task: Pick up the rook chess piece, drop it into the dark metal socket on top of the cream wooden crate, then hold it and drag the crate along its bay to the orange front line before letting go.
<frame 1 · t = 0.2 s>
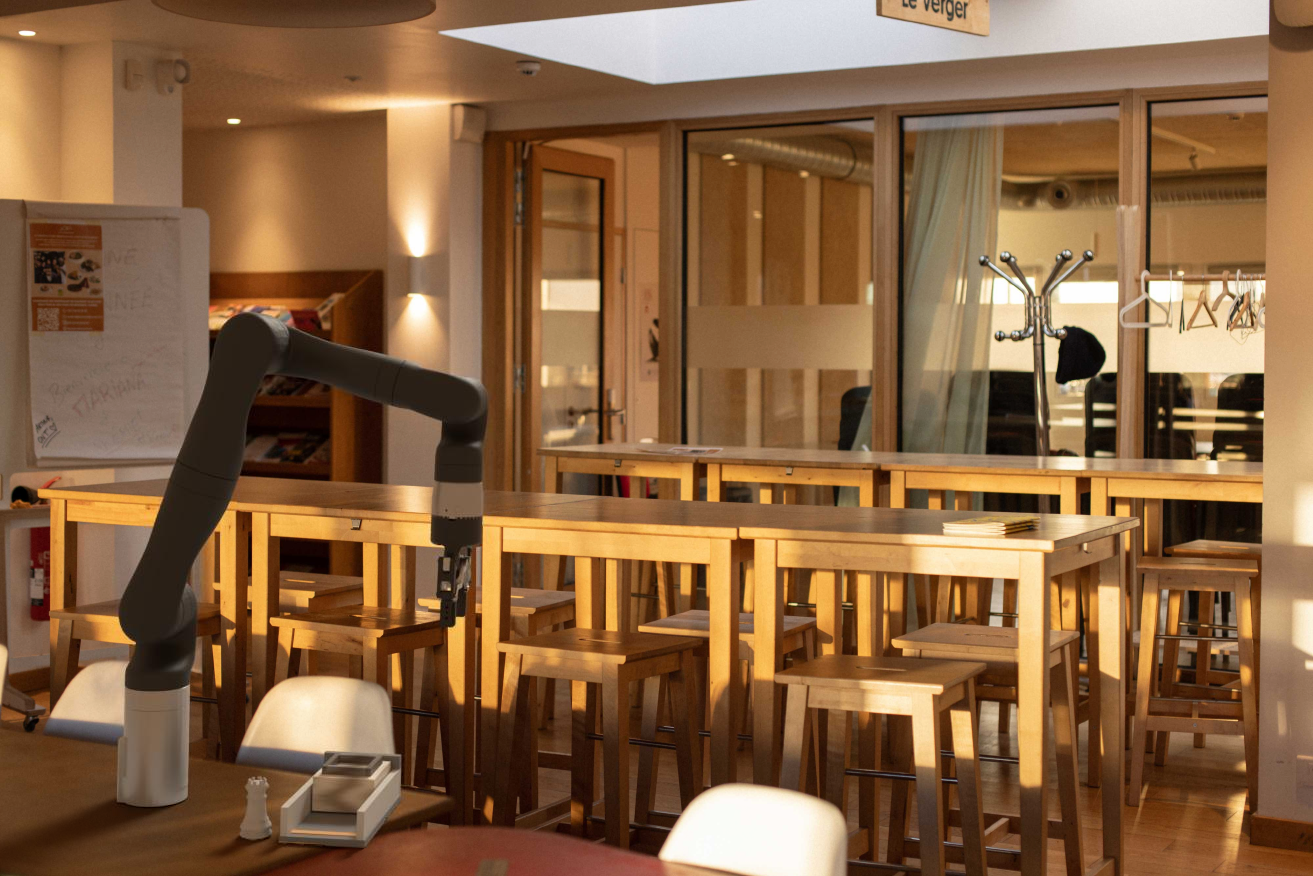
hand: (453, 621, 211), 29 cm above the table, tool pointing down, fingers open, 8 cm apart
crate bay: (343, 820, 208), on the table
rook chess piece: (255, 837, 200), on the table
crate: (352, 781, 212), point 4 cm above the table, slide at 0.0 cm
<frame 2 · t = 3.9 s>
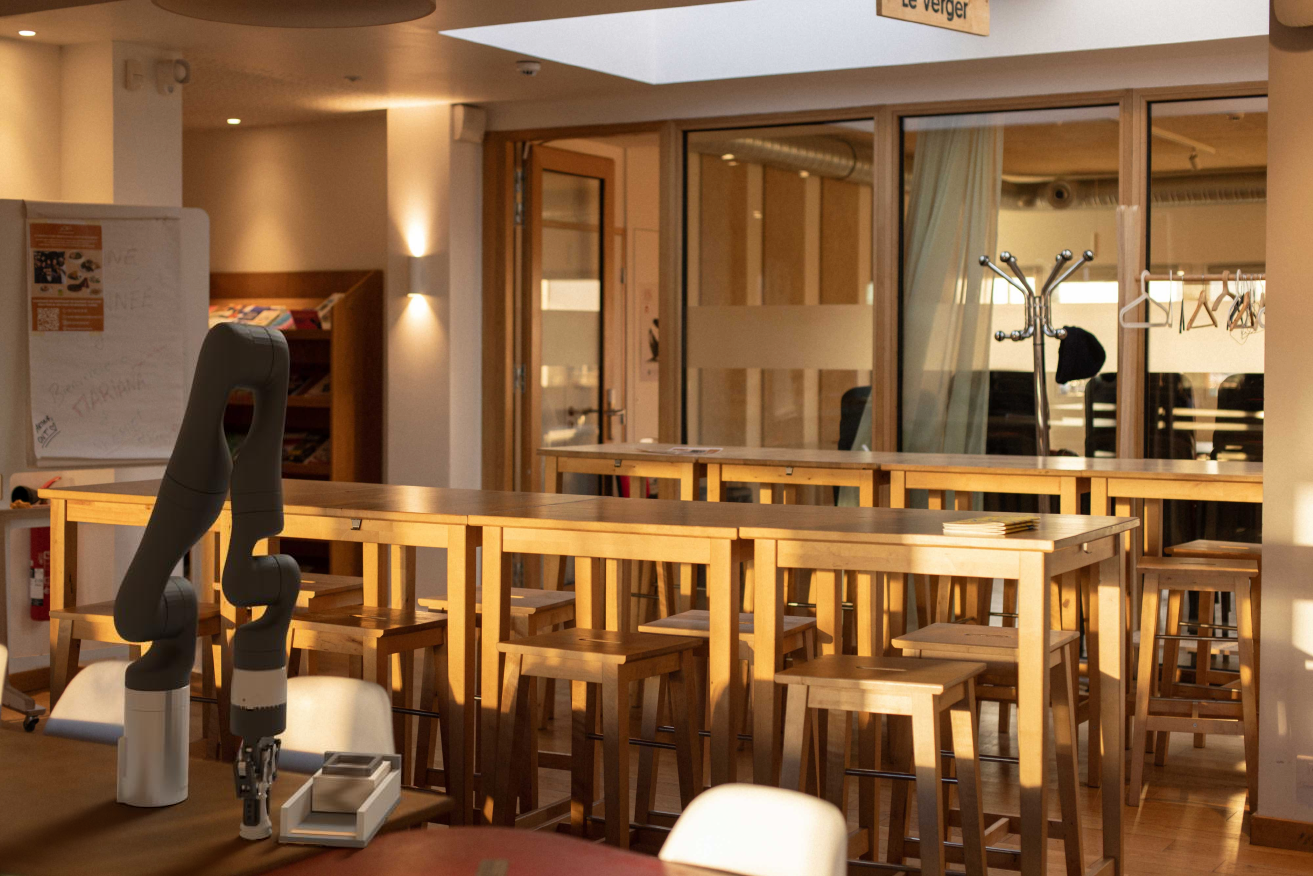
hand: (256, 820, 199), 2 cm above the table, tool pointing down, fingers closed on rook chess piece, 3 cm apart
rook chess piece: (255, 837, 200), on the table, touching gripper
everything else where it was.
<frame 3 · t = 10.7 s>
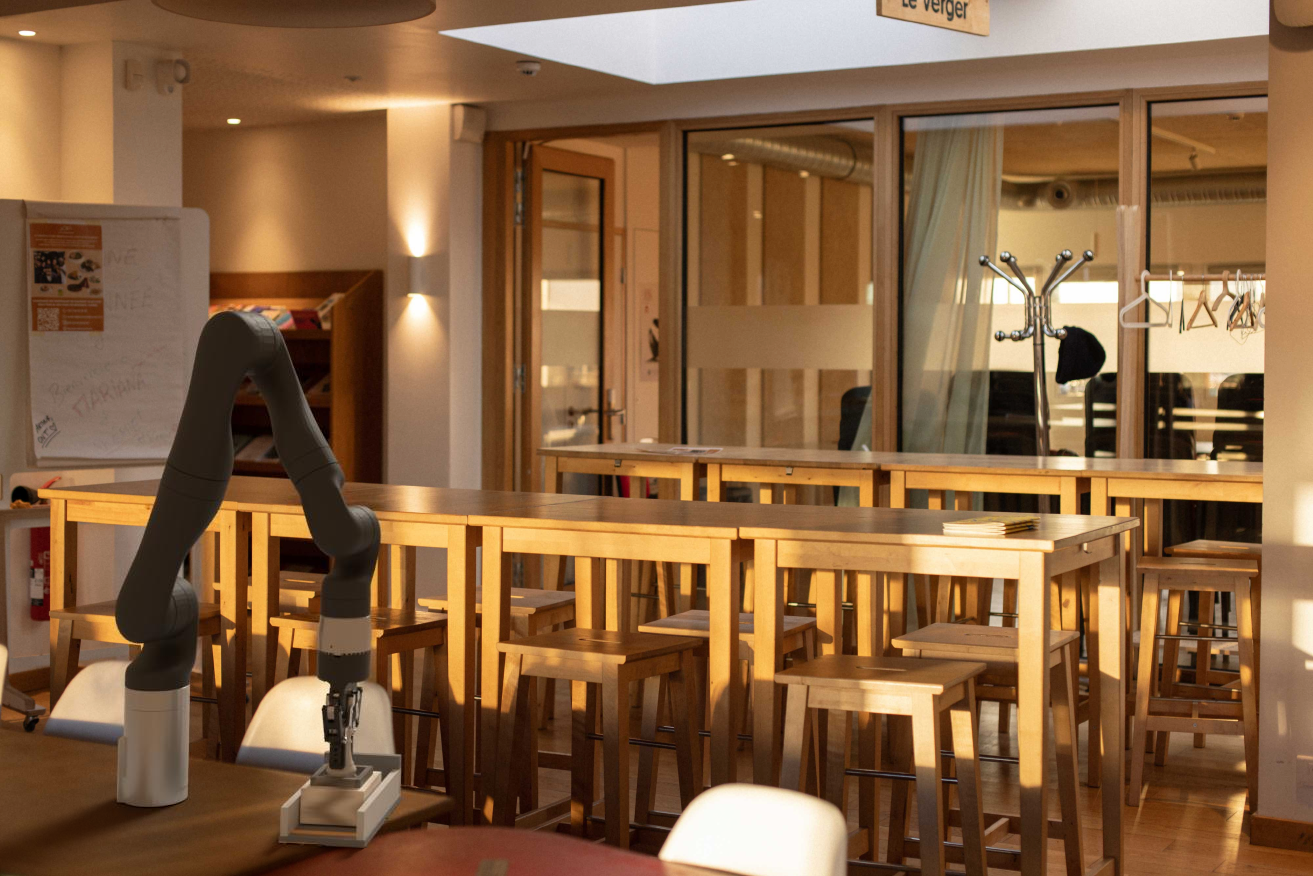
hand: (340, 764, 205), 9 cm above the table, tool pointing down, fingers closed on rook chess piece, 3 cm apart
rook chess piece: (341, 781, 206), point 6 cm above the table, touching crate, gripper
crate: (341, 792, 206), point 4 cm above the table, slide at 5.8 cm, touching rook chess piece
when the fingers open (9 cm above the table, at t = 12.2 s): rook chess piece stays where it is, resting on crate.
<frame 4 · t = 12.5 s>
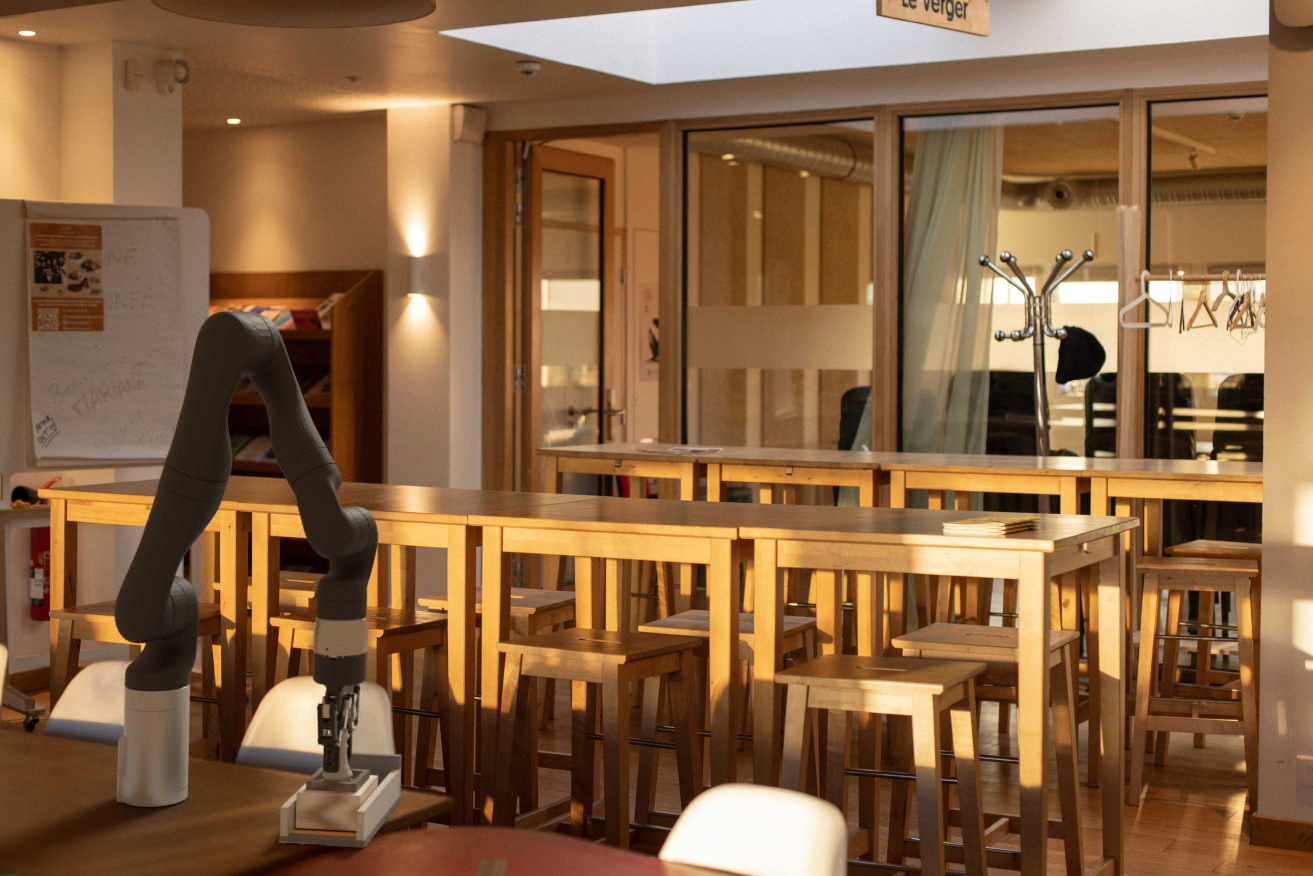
hand: (337, 765, 203), 9 cm above the table, tool pointing down, fingers open, 6 cm apart
rook chess piece: (337, 786, 204), point 6 cm above the table, touching crate
crate: (337, 796, 204), point 4 cm above the table, slide at 7.9 cm, touching rook chess piece
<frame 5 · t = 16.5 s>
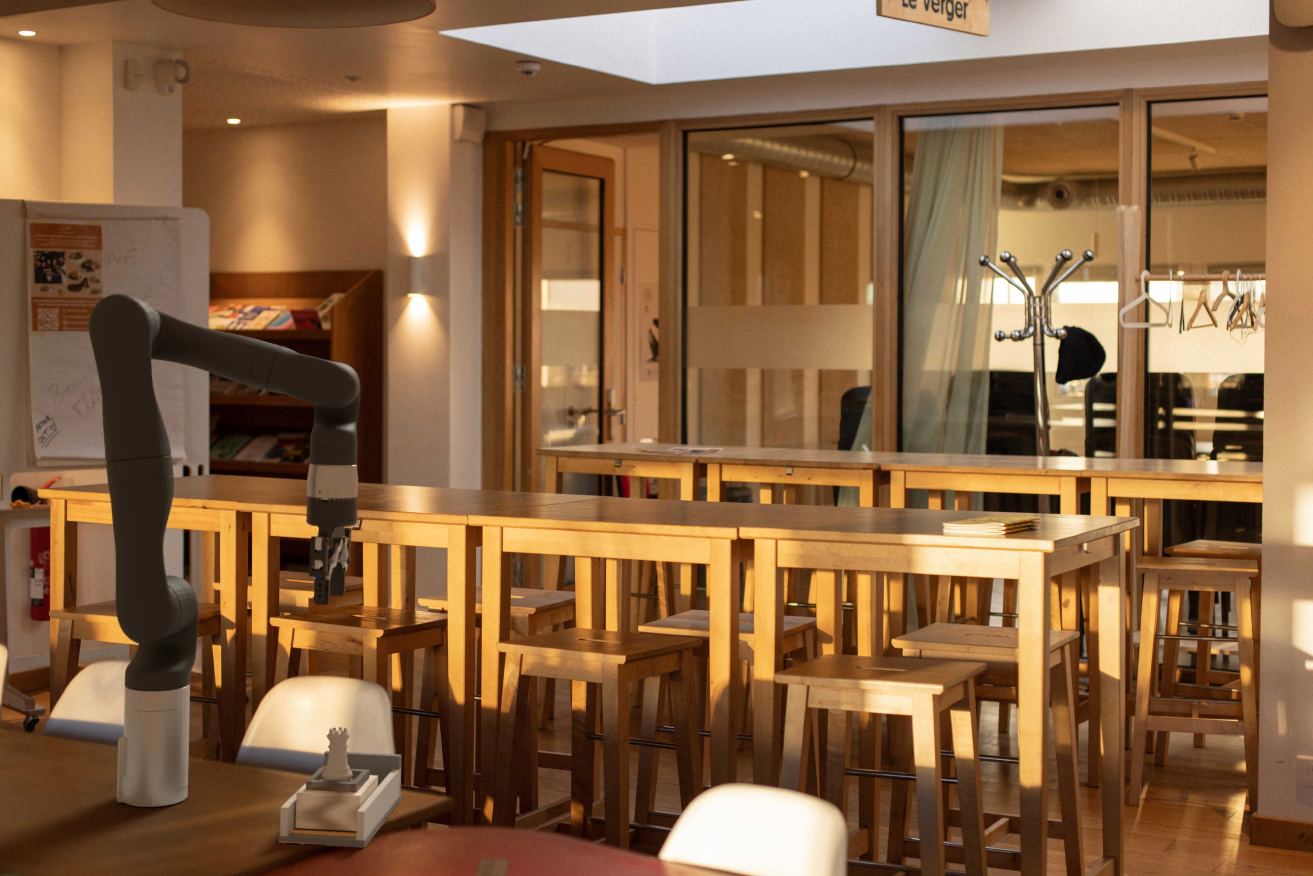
hand: (329, 599, 218), 30 cm above the table, tool pointing down, fingers open, 8 cm apart
nothing on the table moved.
at the end: crate slide at 7.9 cm; rook chess piece 0.6 cm from the crate (horizontally); rook chess piece tilted 0° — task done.
